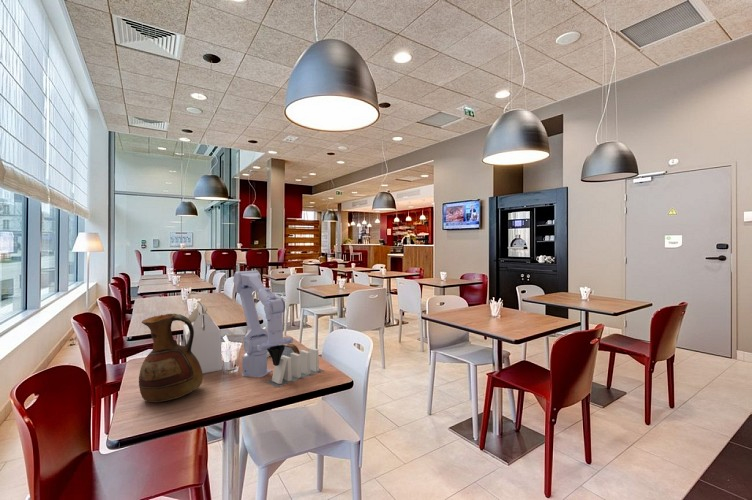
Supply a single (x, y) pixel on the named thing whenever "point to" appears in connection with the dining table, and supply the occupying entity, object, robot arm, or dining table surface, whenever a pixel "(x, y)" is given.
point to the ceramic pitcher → (168, 362)
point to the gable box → (204, 340)
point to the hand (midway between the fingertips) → (276, 365)
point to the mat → (293, 378)
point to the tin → (290, 349)
